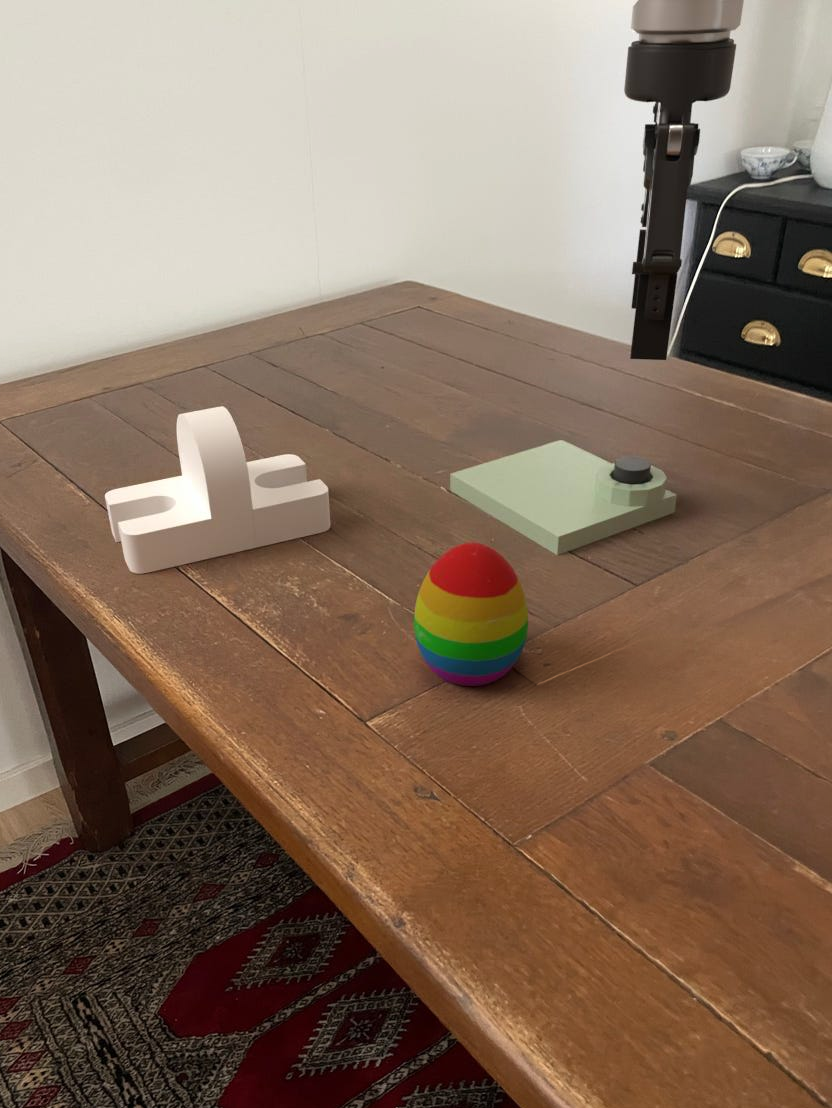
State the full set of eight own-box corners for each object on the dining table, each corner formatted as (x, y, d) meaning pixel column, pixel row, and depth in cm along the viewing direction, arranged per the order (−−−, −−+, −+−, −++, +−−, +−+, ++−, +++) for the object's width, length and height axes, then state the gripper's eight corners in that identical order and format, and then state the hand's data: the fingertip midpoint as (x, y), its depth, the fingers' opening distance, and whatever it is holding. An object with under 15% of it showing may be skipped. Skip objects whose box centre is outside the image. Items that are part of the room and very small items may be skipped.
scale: (675, 513, 95) (680, 478, 93) (557, 556, 89) (560, 520, 87) (560, 456, 106) (563, 424, 104) (449, 491, 101) (450, 458, 99)
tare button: (656, 480, 93) (658, 464, 92) (630, 489, 92) (632, 473, 91) (631, 468, 96) (633, 453, 95) (605, 477, 94) (607, 461, 93)
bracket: (297, 487, 103) (288, 377, 96) (334, 529, 95) (327, 412, 88) (109, 528, 97) (86, 413, 91) (132, 576, 89) (109, 454, 83)
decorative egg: (414, 698, 73) (413, 577, 67) (414, 635, 80) (413, 520, 74) (530, 698, 72) (538, 575, 67) (520, 634, 79) (526, 518, 73)
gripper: (630, 26, 84) (605, 289, 96) (627, 53, 64) (596, 381, 76) (725, 23, 83) (688, 290, 95) (753, 49, 63) (701, 385, 74)
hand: (647, 331), depth 85 cm, fingers open, 13 cm apart
